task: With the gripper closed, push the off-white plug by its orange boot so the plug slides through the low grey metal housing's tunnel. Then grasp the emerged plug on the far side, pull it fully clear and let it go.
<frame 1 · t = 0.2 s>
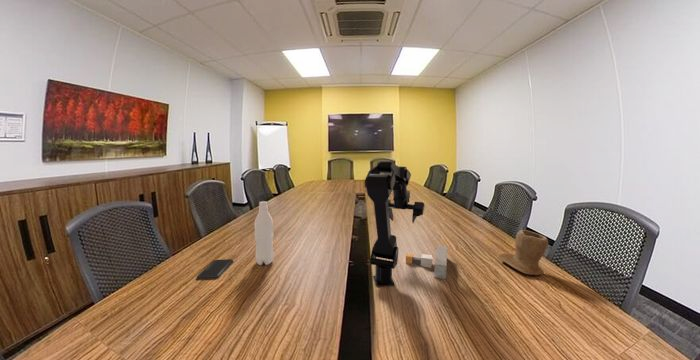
hand: (402, 221, 116), 14 cm above the table, tool tilted 30°, fingers open, 9 cm apart
housing: (440, 266, 102), on the table
plug: (418, 263, 105), on the table
brown hat: (523, 268, 102), on the table
water bottle: (264, 263, 105), on the table
phone: (216, 270, 99), on the table
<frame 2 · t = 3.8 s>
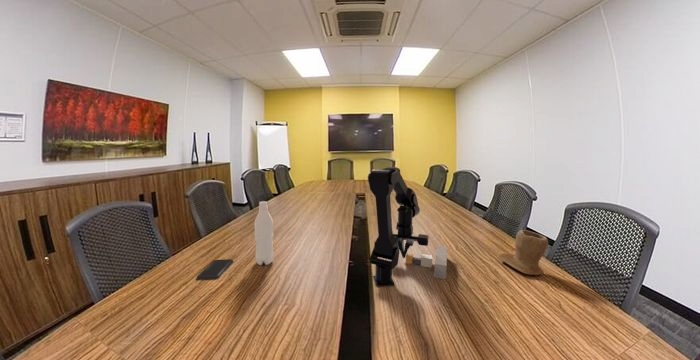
hand: (403, 257, 107), 2 cm above the table, tool pointing down, fingers closed
plug: (418, 263, 105), on the table, touching gripper
everything else where it was.
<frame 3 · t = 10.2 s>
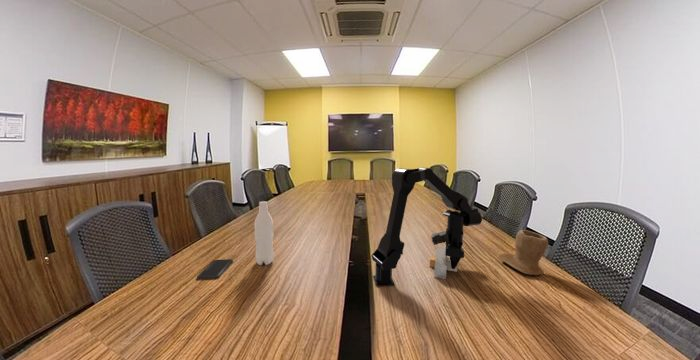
hand: (453, 266, 100), 1 cm above the table, tool pointing down, fingers closed on plug, 4 cm apart
plug: (443, 267, 102), on the table, touching gripper
everything else where it was.
when the fingers open (1 cm above the table, at t = 12.9 s): plug stays where it is, on the table.
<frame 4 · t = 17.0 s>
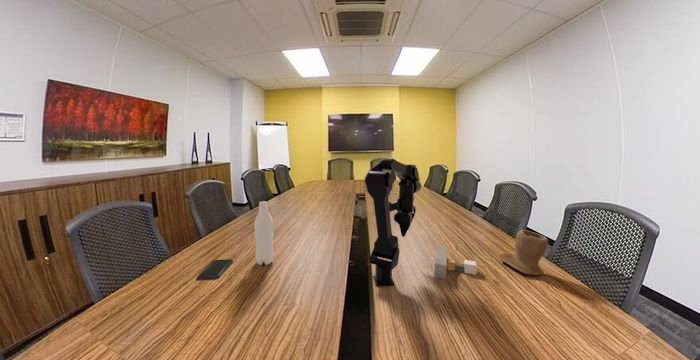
hand: (405, 233, 106), 12 cm above the table, tool pointing down, fingers open, 9 cm apart
plug: (461, 270, 100), on the table
everything else where it was.
at the end: plug inside the target area (3.2 cm from its centre), on the table; plug touching table; plug tilted 0° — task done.
